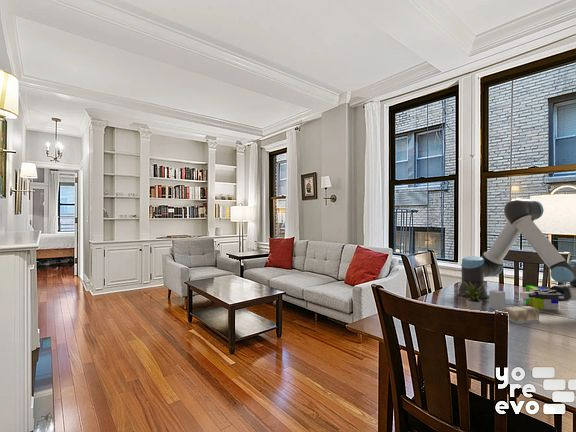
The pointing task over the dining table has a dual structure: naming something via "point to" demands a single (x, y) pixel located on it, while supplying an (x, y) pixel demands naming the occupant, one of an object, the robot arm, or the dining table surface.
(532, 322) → the felt mat
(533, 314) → the maple block
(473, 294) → the house plant
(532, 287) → the puzzle toy
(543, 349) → the dining table surface
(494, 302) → the grey block
